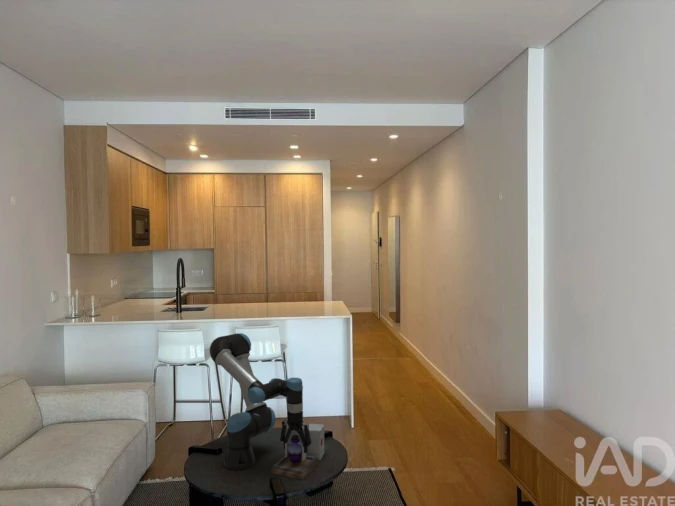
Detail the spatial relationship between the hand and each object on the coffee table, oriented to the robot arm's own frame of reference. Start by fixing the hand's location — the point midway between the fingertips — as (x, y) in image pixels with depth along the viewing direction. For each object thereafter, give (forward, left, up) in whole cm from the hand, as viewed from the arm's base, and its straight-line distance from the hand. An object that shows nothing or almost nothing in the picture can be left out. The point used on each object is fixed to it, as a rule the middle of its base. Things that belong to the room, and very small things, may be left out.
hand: (295, 457), depth 224 cm
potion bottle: (0, 0, -2) cm, 2 cm away
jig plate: (0, 0, -5) cm, 5 cm away
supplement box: (+2, +15, -5) cm, 16 cm away
